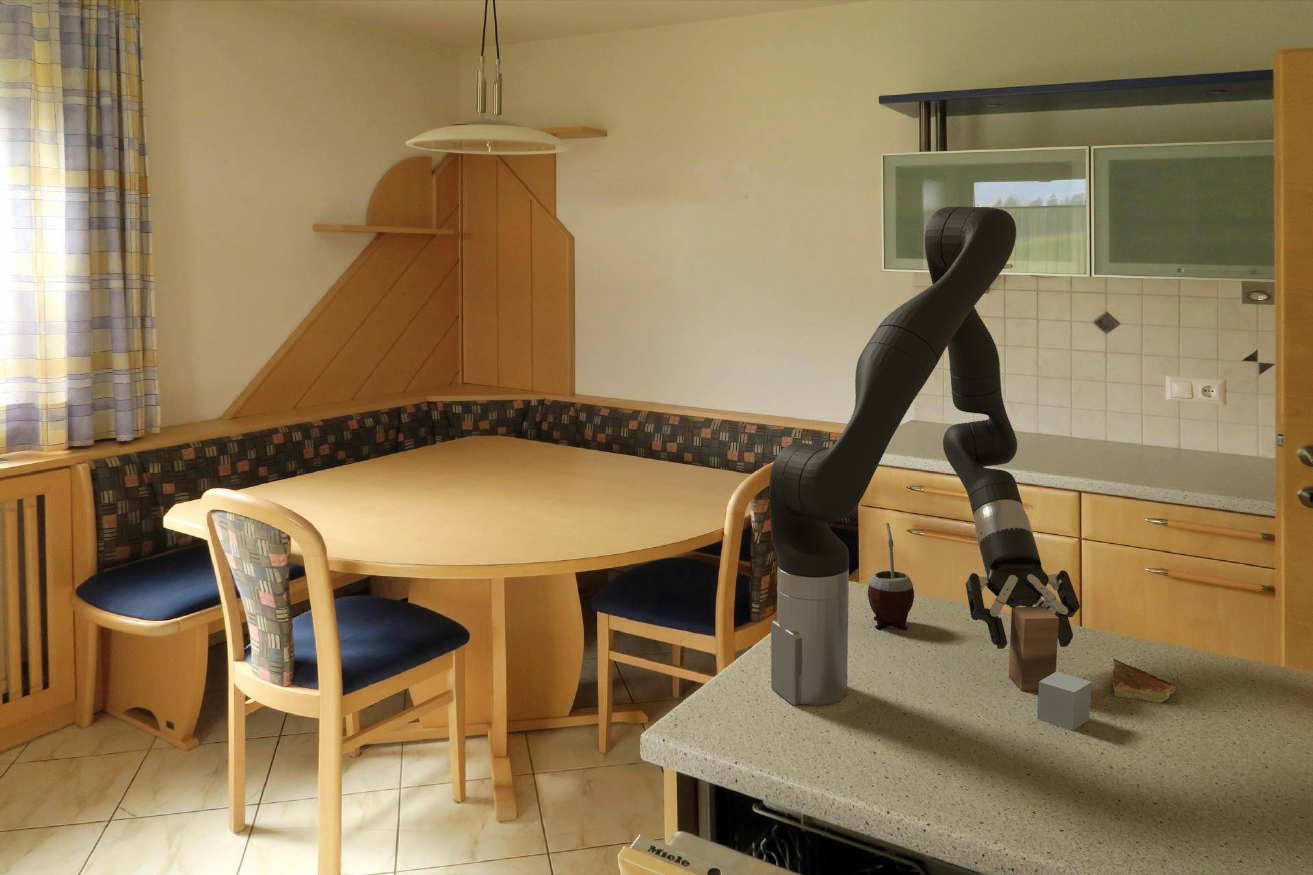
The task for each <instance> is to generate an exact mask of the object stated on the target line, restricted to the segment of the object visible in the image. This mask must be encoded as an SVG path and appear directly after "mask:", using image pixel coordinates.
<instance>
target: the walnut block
mask: <svg viewBox="0 0 1313 875" xmlns="http://www.w3.org/2000/svg"><path fill="white" fill-rule="evenodd" d="M1058 622H1059V618H1058V617H1057V616H1056V615H1055V614H1053V613H1052V612H1051V611H1050V610H1048V609H1047V608H1046V607H1045V606H1040V607H1036V606H1032V607H1025V606H1018V607H1011V617H1010V636H1009V639H1010V640H1009V658H1008V659H1009V660H1008V661H1009V662H1008V663H1009V664H1008V679H1010V680H1011V681H1012V682H1013V684H1014V685H1015V686H1016V687H1017V688H1018V689H1019V690H1020V691H1021V692H1032V691H1033V692H1035V691H1036V692H1039V681H1041V680H1043V679H1044V678H1046V677H1048V676H1050V675H1051V674H1053V673H1055V672H1056V671H1057V661H1058V660H1057V656H1058V642H1059V641H1058Z"/></svg>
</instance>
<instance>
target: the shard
mask: <svg viewBox="0 0 1313 875" xmlns="http://www.w3.org/2000/svg"><path fill="white" fill-rule="evenodd" d="M1112 664H1113V669H1112V675H1111V678H1112V679H1111V681H1112V687H1113V688H1112V689H1113V693H1114V697H1121V698H1129V699H1135V700H1143V701H1149V702H1153V703H1159V704H1160V703H1164V702H1166V701H1167V700H1168V699H1169V698H1170V695H1173V694H1174V693H1176V690H1177V686H1176V685H1174V684H1172V683H1171V682H1168V681H1166V680H1165V679H1161V678H1158V676H1156V675H1153V674H1152V673H1150V672H1147V671H1145V670H1142V669H1139V668H1138V667H1134V666H1131V665H1128V664H1126V663H1124V662H1121V661H1119V660H1117V659H1116V658H1113V660H1112Z"/></svg>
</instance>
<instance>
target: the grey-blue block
mask: <svg viewBox="0 0 1313 875" xmlns="http://www.w3.org/2000/svg"><path fill="white" fill-rule="evenodd" d="M1091 696H1092V681H1091V680H1086V679H1083V678H1080V677H1077V676H1073V675H1070V674H1067V673H1063V672H1060V671H1057V670H1056V672H1055V673H1053V674H1051V675H1050V676H1048V677H1046V678H1044V679H1043V680H1041V681H1039V690H1038V695H1037V698H1038V699H1037V716H1036V720H1039V721H1042V722H1044V723H1047V724H1051V725H1053V726H1056V727H1060V728H1062V729H1065V730H1068V731H1074V730H1076V729H1077V728H1078V727H1080V726H1082V725H1083V724H1085V723H1086V722H1088V721H1089V720H1090V714H1091V713H1090V712H1091V699H1092V698H1091Z"/></svg>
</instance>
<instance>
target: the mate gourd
mask: <svg viewBox="0 0 1313 875" xmlns="http://www.w3.org/2000/svg"><path fill="white" fill-rule="evenodd" d="M885 527H886V530H887V531H886V532H887V537H888V538H887V539H888V540H887V545H888V548H889V550H888V551H889V564H890V565H889V566H890V570H881V571H877V572H876V573H875V574H873V575H872V577H871V578H870V579H869V581H868V582H869V583H868V586H867V598H868V602H869V606H870V608H871V610H872V612H873V614H874V615H875V616H874V617H873V620H874V621H876V624H877V625H875V626H874V627H875V628H876V630H878V631H879V630H883V629H885V628H889V627H892V628H895V629H897V628H898V630H901V631H905V632H906V631H907V630H908V626H907V625H906V624H907V620H908V616H909V613H910V612H911V610H912V607H913V604H914V601H915V590H914V585H913V581H912V580H911V577H909V575H908V574H906V573H904V572H901V571H895V563H894V562H895V561H894V540H893V536H892V531H891V527H890V522H885ZM875 628H874V629H875Z"/></svg>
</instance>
